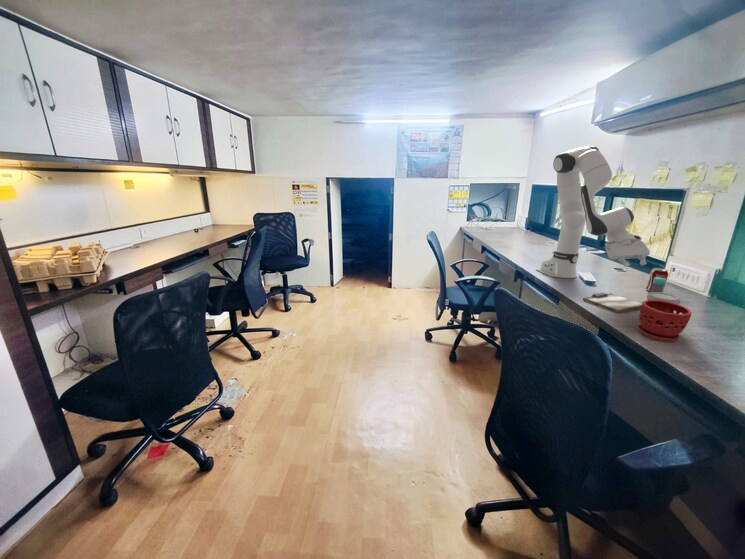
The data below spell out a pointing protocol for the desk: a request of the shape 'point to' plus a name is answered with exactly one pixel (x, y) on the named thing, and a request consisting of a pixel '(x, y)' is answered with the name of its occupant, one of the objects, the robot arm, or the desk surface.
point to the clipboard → (613, 302)
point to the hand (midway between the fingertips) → (636, 265)
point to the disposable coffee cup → (663, 298)
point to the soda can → (656, 273)
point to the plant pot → (662, 320)
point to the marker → (658, 284)
